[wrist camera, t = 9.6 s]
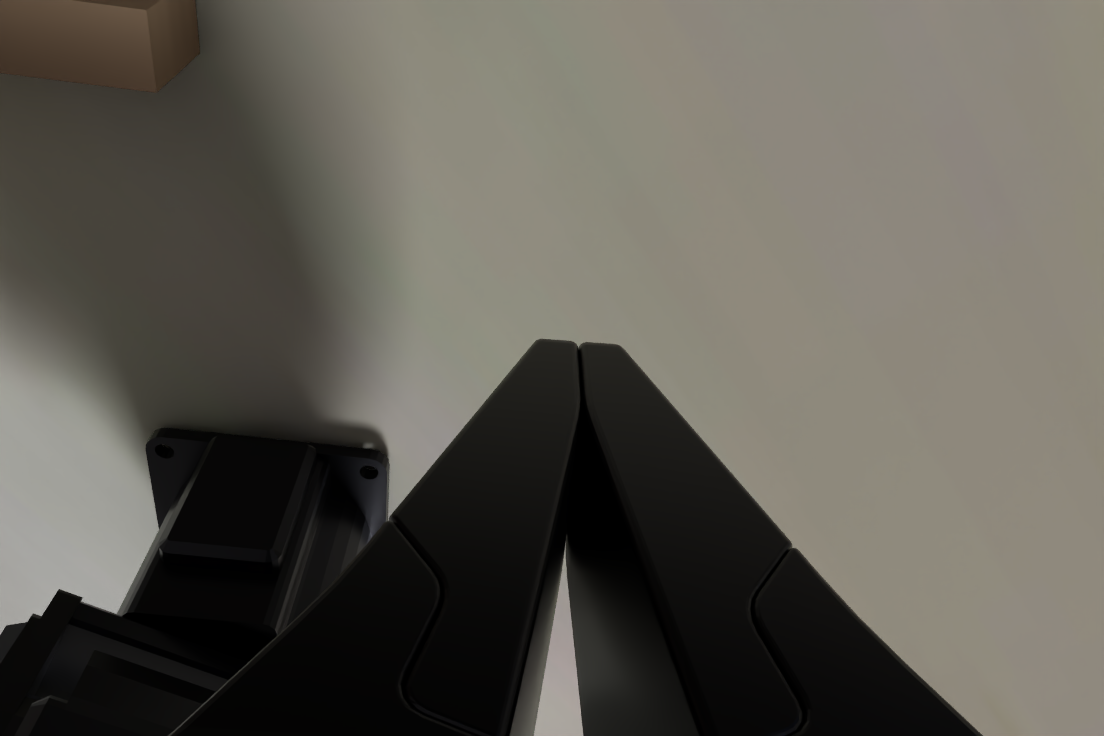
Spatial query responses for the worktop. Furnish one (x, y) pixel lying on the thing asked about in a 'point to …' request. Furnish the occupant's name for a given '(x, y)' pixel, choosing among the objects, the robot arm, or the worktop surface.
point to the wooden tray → (99, 40)
